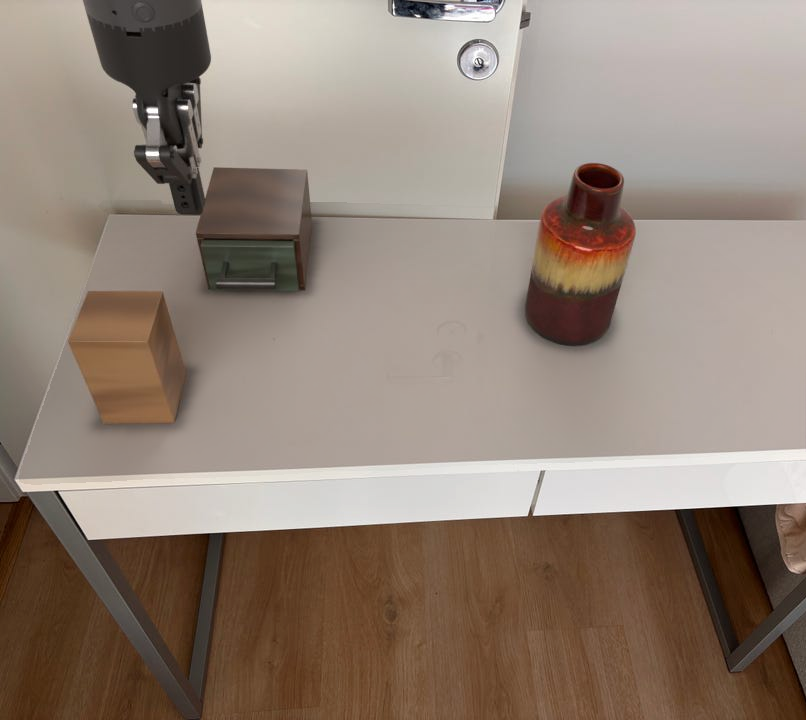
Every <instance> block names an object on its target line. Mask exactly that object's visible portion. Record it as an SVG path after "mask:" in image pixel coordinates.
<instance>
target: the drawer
mask: <svg viewBox="0 0 806 720" xmlns="http://www.w3.org/2000/svg"><path fill="white" fill-rule="evenodd" d="M278 240H279V241H268V240H233V239H216V238H212V240H202V243H201V250H202V254H203V258H204V263H205V267H206V272H207V276H208V280H209V285H210V289H209V290H210V291H219V292H220V291H224V292H225V291H227V292H228V291H235V292H236V291H238V292H240V291H242V292H245V291H246V292H247V291H249V292H299V291H300V290H299V276H298V268H297V259H296V250H295V241H293V240H284V239H278Z"/></svg>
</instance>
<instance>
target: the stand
mask: <svg viewBox="0 0 806 720" xmlns="http://www.w3.org/2000/svg"><path fill="white" fill-rule="evenodd" d="M67 343H68V345H69V348H70V350H71V352H72V355H73V357H74V359H75V362H76V363H77V366H78V369H79V371H80V373H81V375H82V377H83V380H84V382H85V384H86V386H87V389H88V391H89V394H90V395H91V398H92V400H93V403H94V405H95V408H96V409H97V411H98V414H99V416H100V419H101V421H102V423H103V424H104V425H108V424H110V425H112V424H117V425H119V424H171V423H172V424H175V422H176V418H177V413H178V410H179V406H180V401H181V397H182V393H183V390H184V384H185V382H186V381H185V380H186V377H187V371H186V367H185V363H184V360H183V356H182V353H181V350H180V346H179V342H178V339H177V336H176V332H175V329H174V326H173V323H172V319H171V315H170V311H169V308H168V305H167V302H166V298H165V296H164V291H161V290H160V291H159V290H150V291H149V290H88V291H87V292H86V294H85V298H84V300H83V302H82V305H81V307H80V309H79V312H78V315H77V317H76V320H75V322H74V324H73V327H72V330H71V332H70V335H69V338H68V339H67Z"/></svg>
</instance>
